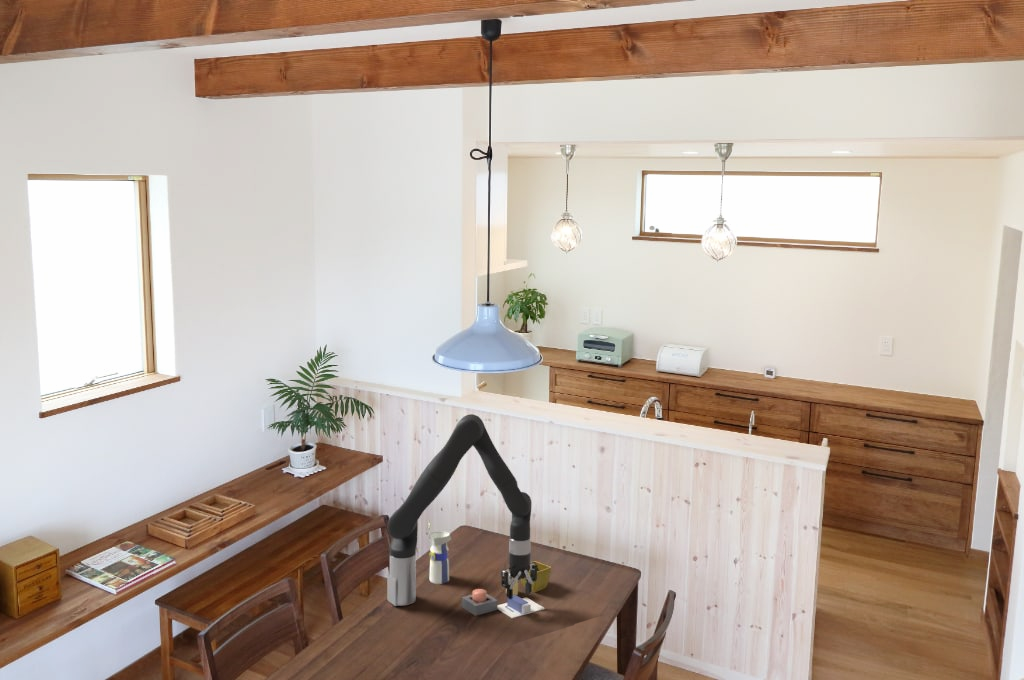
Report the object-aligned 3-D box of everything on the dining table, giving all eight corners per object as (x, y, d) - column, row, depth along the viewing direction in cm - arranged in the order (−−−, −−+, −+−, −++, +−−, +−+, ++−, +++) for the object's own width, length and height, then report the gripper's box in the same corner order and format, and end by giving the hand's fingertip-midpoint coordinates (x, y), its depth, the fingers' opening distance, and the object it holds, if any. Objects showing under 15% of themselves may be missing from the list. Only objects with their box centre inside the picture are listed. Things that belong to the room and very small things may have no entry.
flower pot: (534, 583, 320) (534, 560, 319) (551, 590, 313) (551, 566, 312) (518, 589, 313) (518, 566, 312) (534, 596, 307) (535, 572, 306)
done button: (477, 607, 293) (477, 595, 292) (469, 601, 297) (469, 591, 296) (489, 603, 296) (489, 592, 295) (481, 598, 300) (481, 587, 299)
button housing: (475, 615, 290) (475, 606, 290) (461, 606, 298) (461, 597, 297) (497, 609, 295) (497, 600, 295) (483, 600, 303) (483, 591, 302)
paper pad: (512, 618, 289) (512, 617, 289) (494, 607, 298) (494, 606, 298) (544, 609, 297) (544, 608, 297) (526, 598, 306) (526, 597, 306)
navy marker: (507, 605, 299) (523, 614, 291) (507, 596, 298) (523, 606, 291) (514, 603, 300) (530, 612, 293) (514, 594, 300) (531, 603, 293)
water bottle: (437, 590, 311) (437, 524, 309) (423, 583, 318) (424, 518, 315) (454, 584, 317) (455, 520, 314) (441, 578, 323) (441, 514, 320)
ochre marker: (510, 597, 306) (511, 572, 305) (505, 594, 308) (506, 569, 307) (517, 595, 308) (518, 570, 307) (512, 592, 310) (513, 567, 309)
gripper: (509, 557, 286) (508, 604, 288) (542, 549, 295) (541, 595, 296) (496, 551, 292) (496, 596, 294) (530, 543, 301) (529, 587, 302)
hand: (519, 595), depth 295 cm, fingers open, 7 cm apart
